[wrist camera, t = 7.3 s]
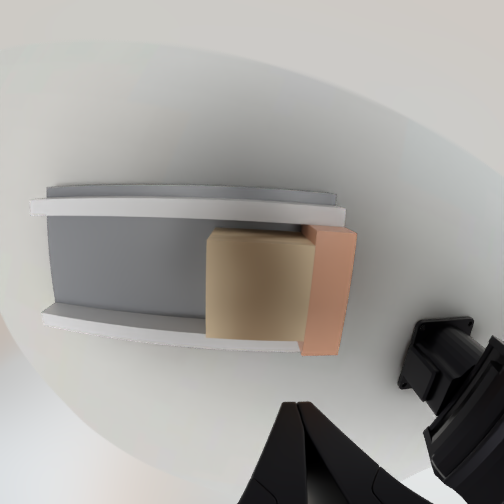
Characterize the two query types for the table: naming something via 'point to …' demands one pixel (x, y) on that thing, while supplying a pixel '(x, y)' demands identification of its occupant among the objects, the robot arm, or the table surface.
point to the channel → (181, 259)
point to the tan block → (258, 284)
